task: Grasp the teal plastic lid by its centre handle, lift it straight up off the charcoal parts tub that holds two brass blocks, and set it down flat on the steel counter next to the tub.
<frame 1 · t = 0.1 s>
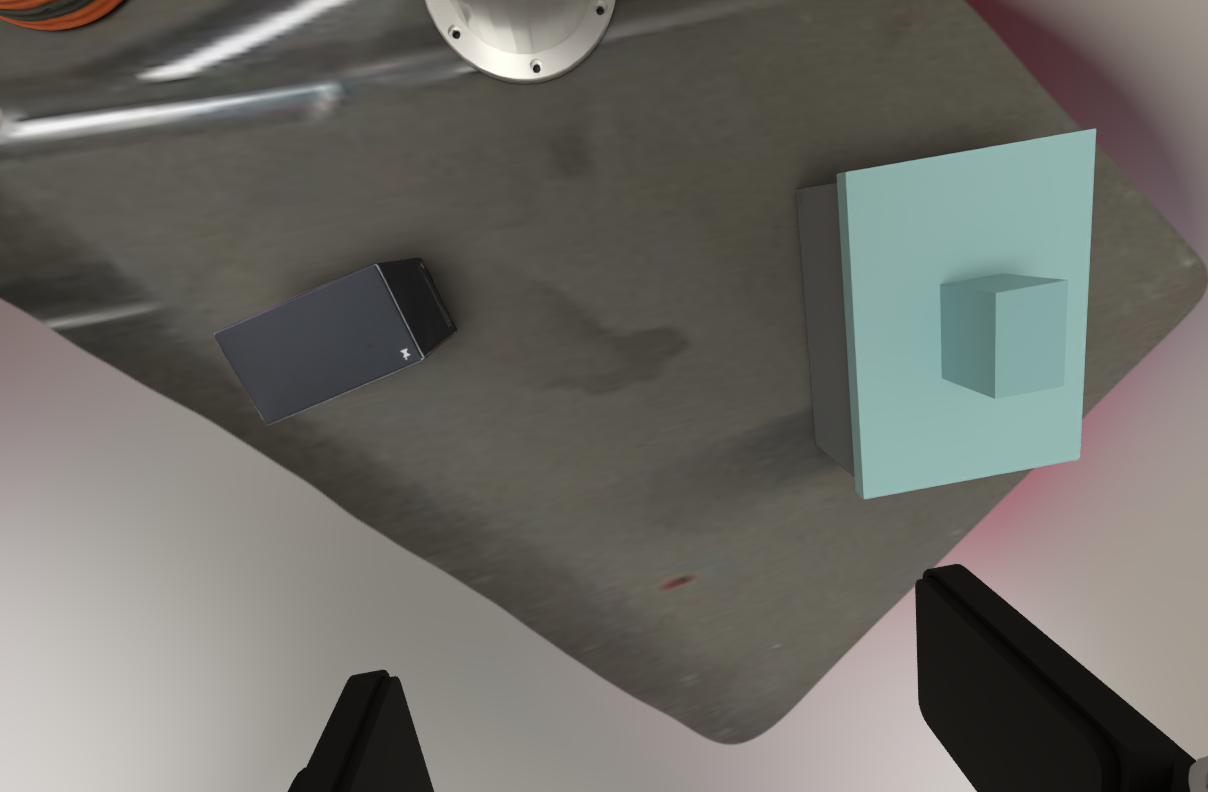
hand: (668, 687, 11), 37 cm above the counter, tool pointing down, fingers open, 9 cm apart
lid: (959, 324, 39), point 8 cm above the counter, touching tub
tub: (894, 308, 47), on the counter
small box: (375, 320, 45), on the counter
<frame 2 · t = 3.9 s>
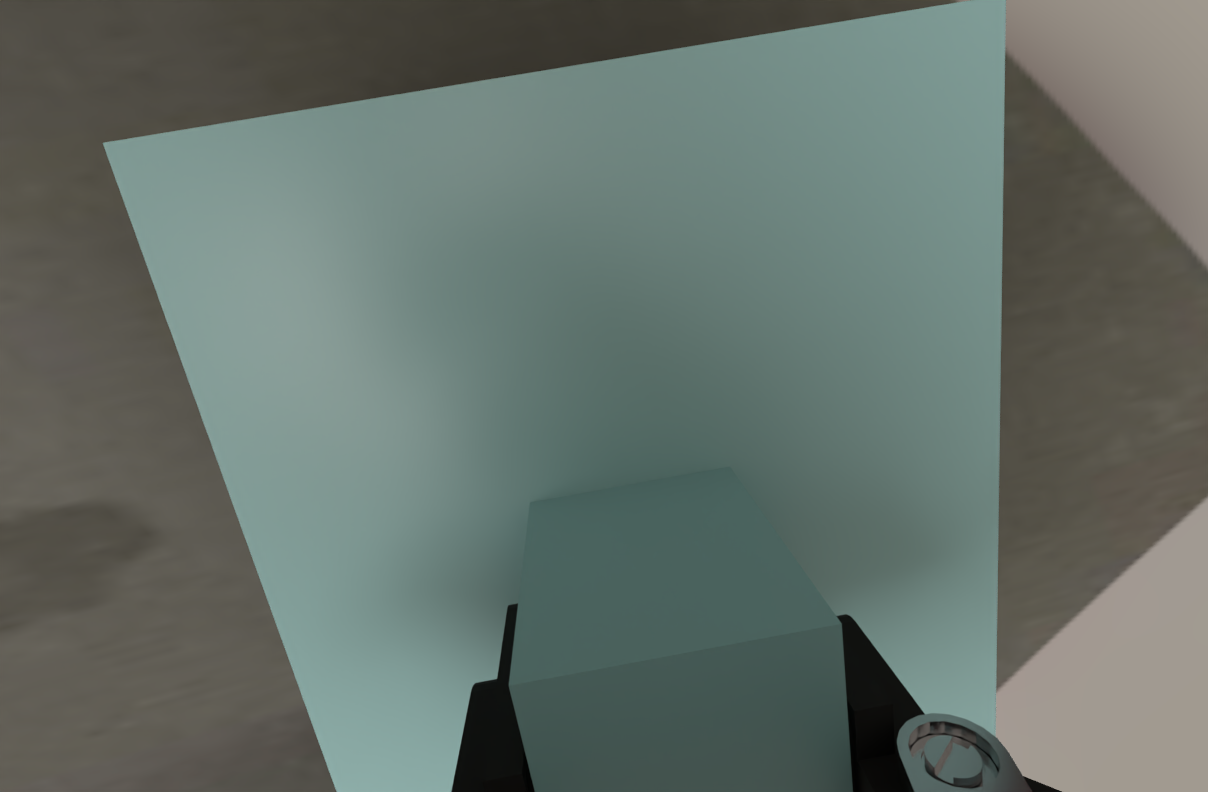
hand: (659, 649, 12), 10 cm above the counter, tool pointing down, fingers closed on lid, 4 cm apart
lid: (644, 582, 14), point 8 cm above the counter, touching gripper, tub
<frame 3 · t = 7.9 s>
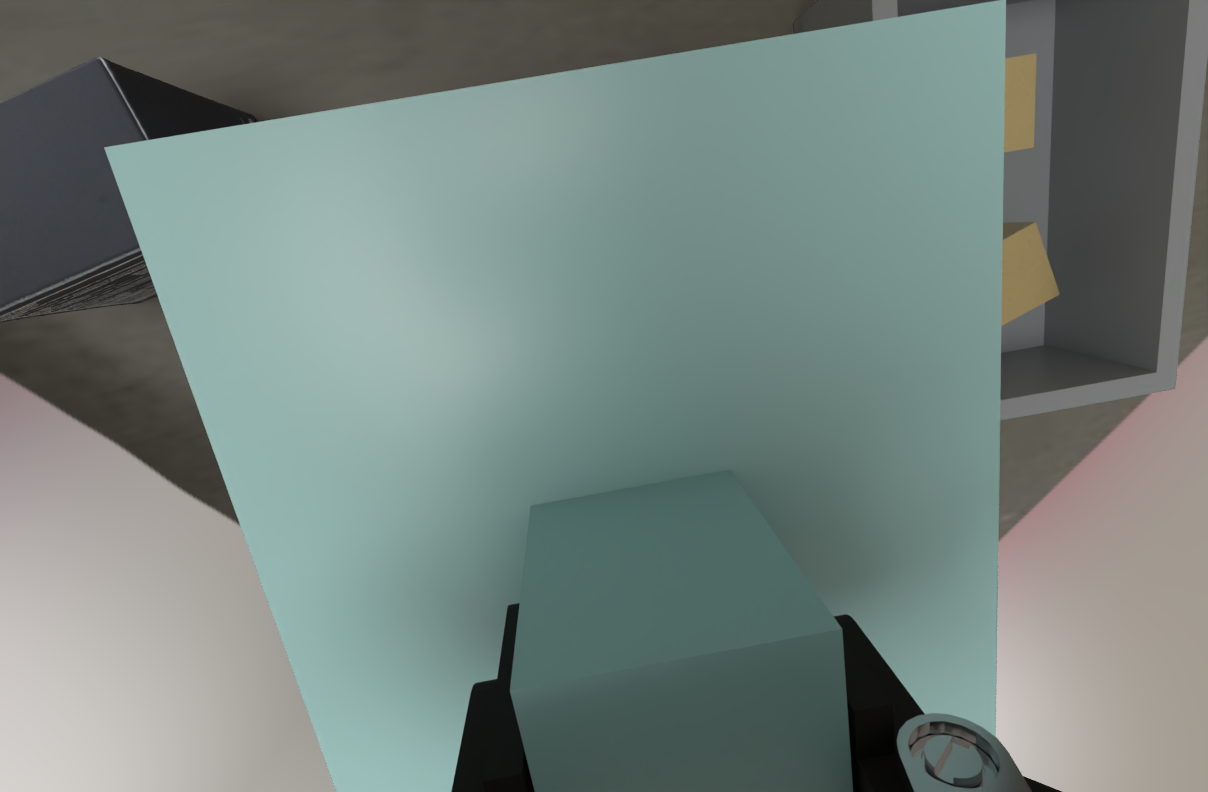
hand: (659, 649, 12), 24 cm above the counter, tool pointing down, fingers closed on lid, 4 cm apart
lid: (644, 585, 14), point 22 cm above the counter, touching gripper
tub: (930, 203, 34), on the counter
small box: (195, 208, 32), on the counter
brass block A: (940, 122, 32), point 1 cm above the counter, touching tub
brass block B: (959, 273, 34), point 1 cm above the counter, touching tub
when the fingers open (4 cm above the counter, at t = 11.9 s): lid drops 2 cm, on the counter.
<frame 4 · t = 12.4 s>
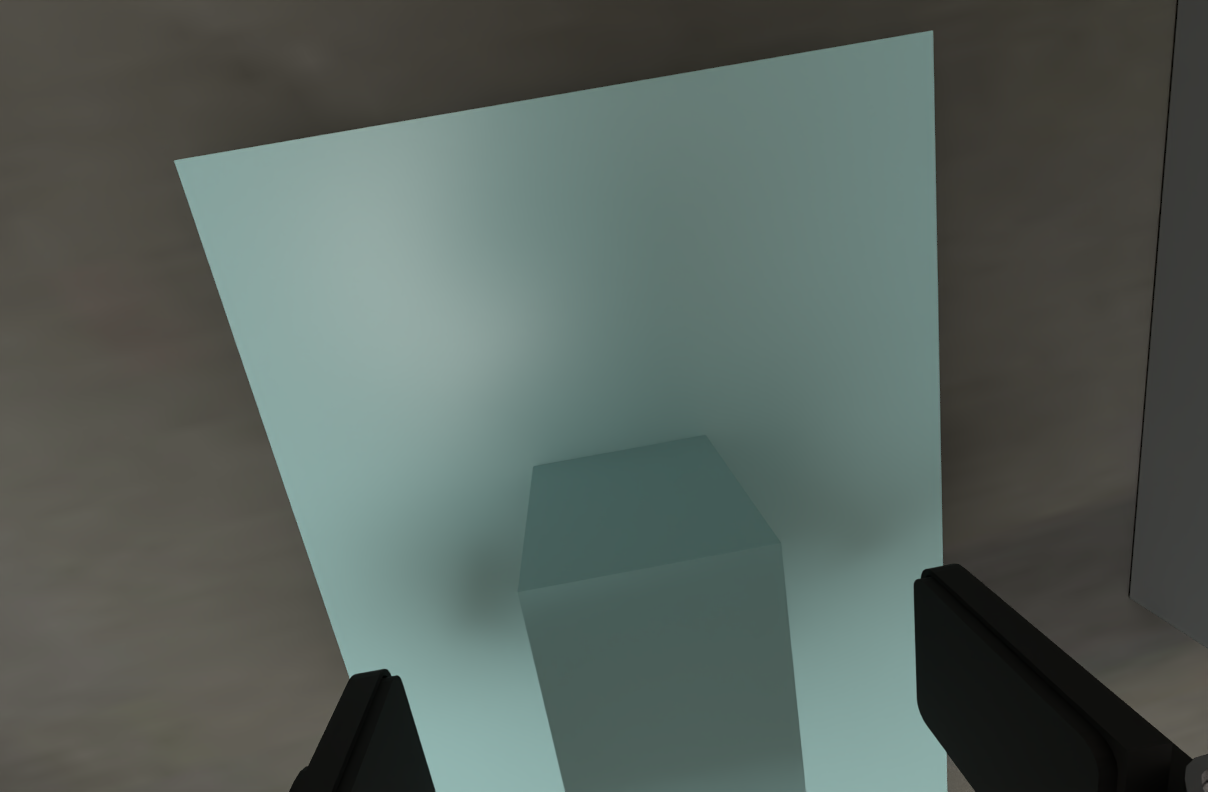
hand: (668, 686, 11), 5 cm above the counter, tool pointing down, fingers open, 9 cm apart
lid: (633, 540, 16), on the counter
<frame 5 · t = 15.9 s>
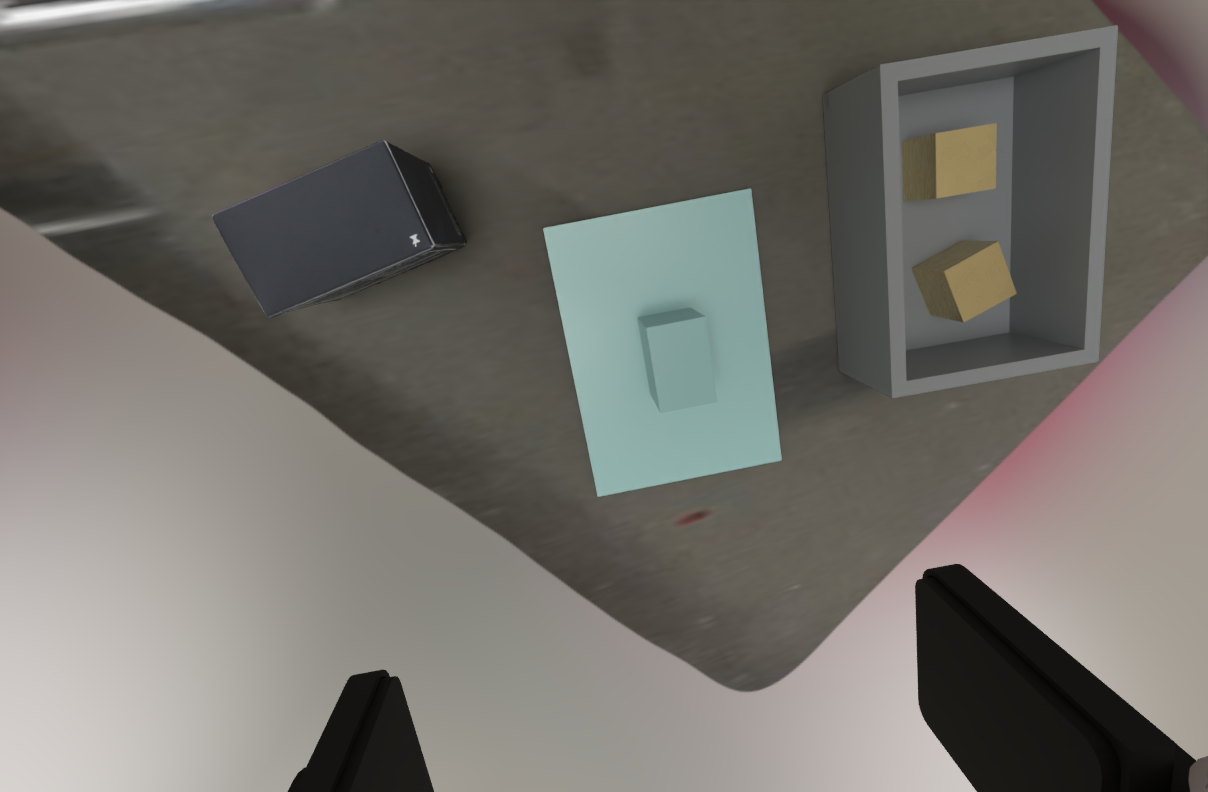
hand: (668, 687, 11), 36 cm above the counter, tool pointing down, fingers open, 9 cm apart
lid: (667, 348, 47), on the counter
tub: (923, 225, 45), on the counter
small box: (381, 230, 43), on the counter
brass block A: (930, 167, 43), point 1 cm above the counter, touching tub
brass block B: (945, 278, 45), point 1 cm above the counter, touching tub
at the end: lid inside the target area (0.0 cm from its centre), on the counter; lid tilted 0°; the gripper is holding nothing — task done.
